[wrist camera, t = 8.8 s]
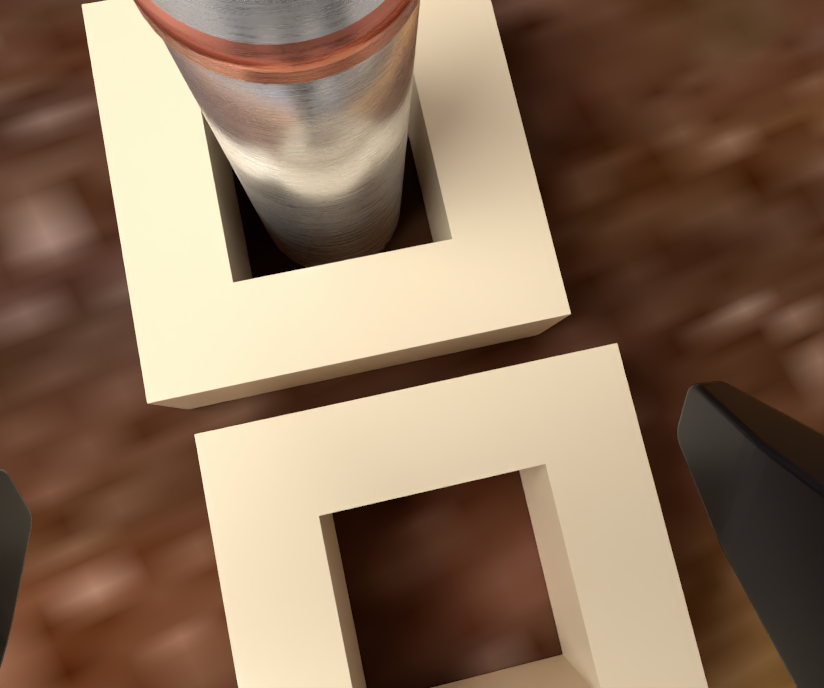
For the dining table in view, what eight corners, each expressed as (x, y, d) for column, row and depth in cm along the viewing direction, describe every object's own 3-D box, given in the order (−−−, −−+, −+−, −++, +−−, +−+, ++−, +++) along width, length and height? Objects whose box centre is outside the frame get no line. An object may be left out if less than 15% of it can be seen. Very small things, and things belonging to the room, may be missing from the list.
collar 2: (669, 724, 19) (735, 789, 15) (297, 823, 18) (277, 916, 14) (576, 358, 20) (617, 343, 17) (227, 434, 19) (194, 434, 16)
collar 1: (538, 334, 20) (571, 314, 17) (188, 409, 19) (147, 403, 16) (460, 19, 22) (475, -60, 18) (131, 76, 21) (81, 4, 17)
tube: (432, 211, 21) (542, -243, 7) (324, 304, 20) (206, 13, 6) (338, 109, 21) (258, -519, 7) (228, 198, 20) (-87, -302, 7)
